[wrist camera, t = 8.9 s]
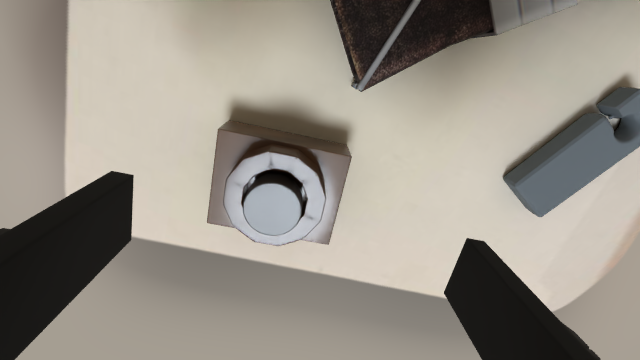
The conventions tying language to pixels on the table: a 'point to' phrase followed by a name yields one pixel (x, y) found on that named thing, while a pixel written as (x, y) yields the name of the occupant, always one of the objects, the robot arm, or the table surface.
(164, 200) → the table surface
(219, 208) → the block
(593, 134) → the bracket
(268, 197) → the release button
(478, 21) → the book
